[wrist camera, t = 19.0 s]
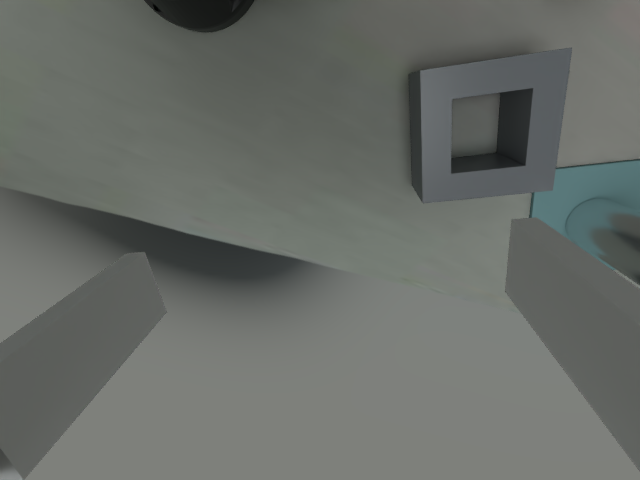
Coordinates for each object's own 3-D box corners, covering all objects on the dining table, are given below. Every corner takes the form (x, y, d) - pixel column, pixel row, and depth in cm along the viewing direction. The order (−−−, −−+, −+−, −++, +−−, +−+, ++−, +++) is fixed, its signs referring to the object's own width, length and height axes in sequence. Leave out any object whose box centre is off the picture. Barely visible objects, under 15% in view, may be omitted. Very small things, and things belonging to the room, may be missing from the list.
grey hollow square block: (408, 74, 40) (420, 70, 33) (530, 55, 38) (572, 47, 31) (411, 185, 45) (422, 203, 38) (519, 173, 44) (552, 190, 36)
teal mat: (534, 170, 43) (537, 171, 43) (667, 156, 41) (672, 157, 41) (523, 273, 49) (525, 275, 48) (639, 265, 47) (642, 267, 46)
